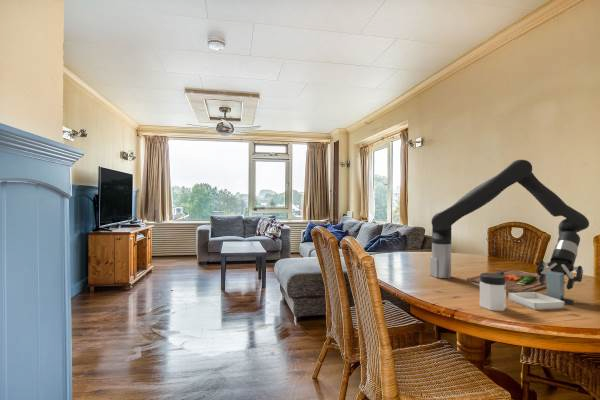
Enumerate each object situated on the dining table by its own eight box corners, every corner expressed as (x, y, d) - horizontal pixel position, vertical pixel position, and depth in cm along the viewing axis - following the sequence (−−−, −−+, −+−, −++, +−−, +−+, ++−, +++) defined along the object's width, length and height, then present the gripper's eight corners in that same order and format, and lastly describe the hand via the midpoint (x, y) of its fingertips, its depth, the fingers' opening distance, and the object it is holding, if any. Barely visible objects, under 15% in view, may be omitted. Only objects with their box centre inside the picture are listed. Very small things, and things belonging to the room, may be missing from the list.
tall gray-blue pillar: (546, 300, 128) (546, 272, 127) (551, 298, 131) (551, 271, 130) (559, 303, 124) (559, 275, 124) (564, 300, 127) (564, 273, 127)
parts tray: (534, 310, 117) (534, 303, 117) (508, 299, 129) (508, 293, 129) (564, 308, 119) (564, 301, 119) (535, 297, 131) (535, 291, 131)
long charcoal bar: (538, 297, 131) (538, 293, 131) (539, 296, 132) (539, 293, 132) (572, 304, 122) (572, 300, 122) (573, 303, 123) (573, 300, 123)
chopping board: (520, 296, 134) (520, 289, 134) (460, 282, 158) (460, 275, 158) (568, 282, 157) (568, 275, 157) (510, 271, 180) (510, 265, 180)
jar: (482, 301, 126) (482, 271, 126) (507, 306, 121) (507, 274, 121) (477, 308, 119) (477, 275, 119) (503, 313, 114) (503, 279, 114)
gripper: (541, 246, 138) (531, 276, 131) (584, 250, 126) (575, 284, 119) (546, 256, 141) (536, 287, 134) (588, 262, 129) (579, 295, 123)
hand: (554, 285), depth 127 cm, fingers open, 8 cm apart
